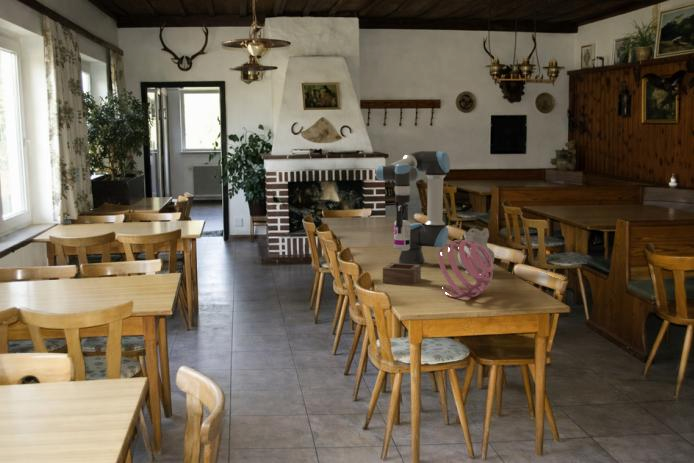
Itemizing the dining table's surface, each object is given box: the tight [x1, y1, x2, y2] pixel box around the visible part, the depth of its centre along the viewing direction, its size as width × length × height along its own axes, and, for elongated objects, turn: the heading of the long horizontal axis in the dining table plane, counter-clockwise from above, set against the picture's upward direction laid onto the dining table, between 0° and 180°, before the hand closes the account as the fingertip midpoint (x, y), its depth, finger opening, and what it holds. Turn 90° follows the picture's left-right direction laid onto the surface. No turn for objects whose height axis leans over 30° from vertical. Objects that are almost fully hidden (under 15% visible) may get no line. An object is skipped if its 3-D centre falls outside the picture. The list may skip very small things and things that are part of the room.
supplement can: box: [393, 219, 411, 252], centre depth 391 cm, size 8×8×15 cm
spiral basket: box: [438, 239, 494, 299], centre depth 357 cm, size 28×28×27 cm
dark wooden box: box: [382, 262, 422, 286], centre depth 393 cm, size 16×16×8 cm
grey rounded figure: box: [457, 227, 495, 275], centre depth 411 cm, size 22×20×25 cm
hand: (402, 238), depth 391 cm, fingers closed on supplement can, 8 cm apart
